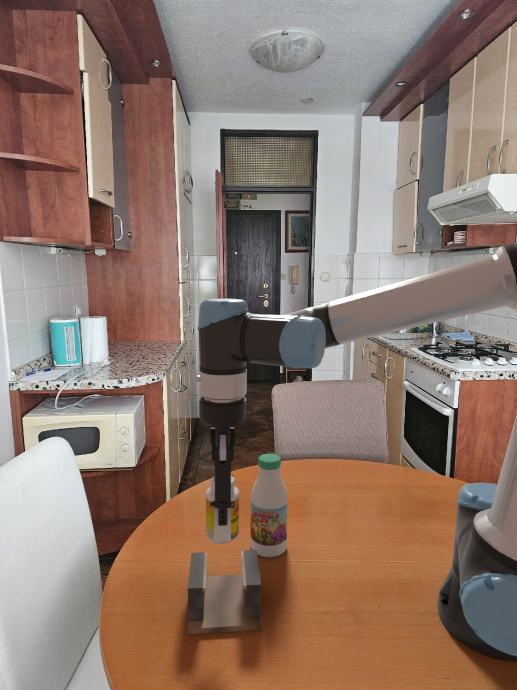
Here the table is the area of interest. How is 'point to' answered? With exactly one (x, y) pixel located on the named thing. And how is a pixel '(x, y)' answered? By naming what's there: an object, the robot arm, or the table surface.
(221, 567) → the table surface
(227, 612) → the clamp block
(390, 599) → the table surface
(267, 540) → the milk bottle
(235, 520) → the supplement bottle
